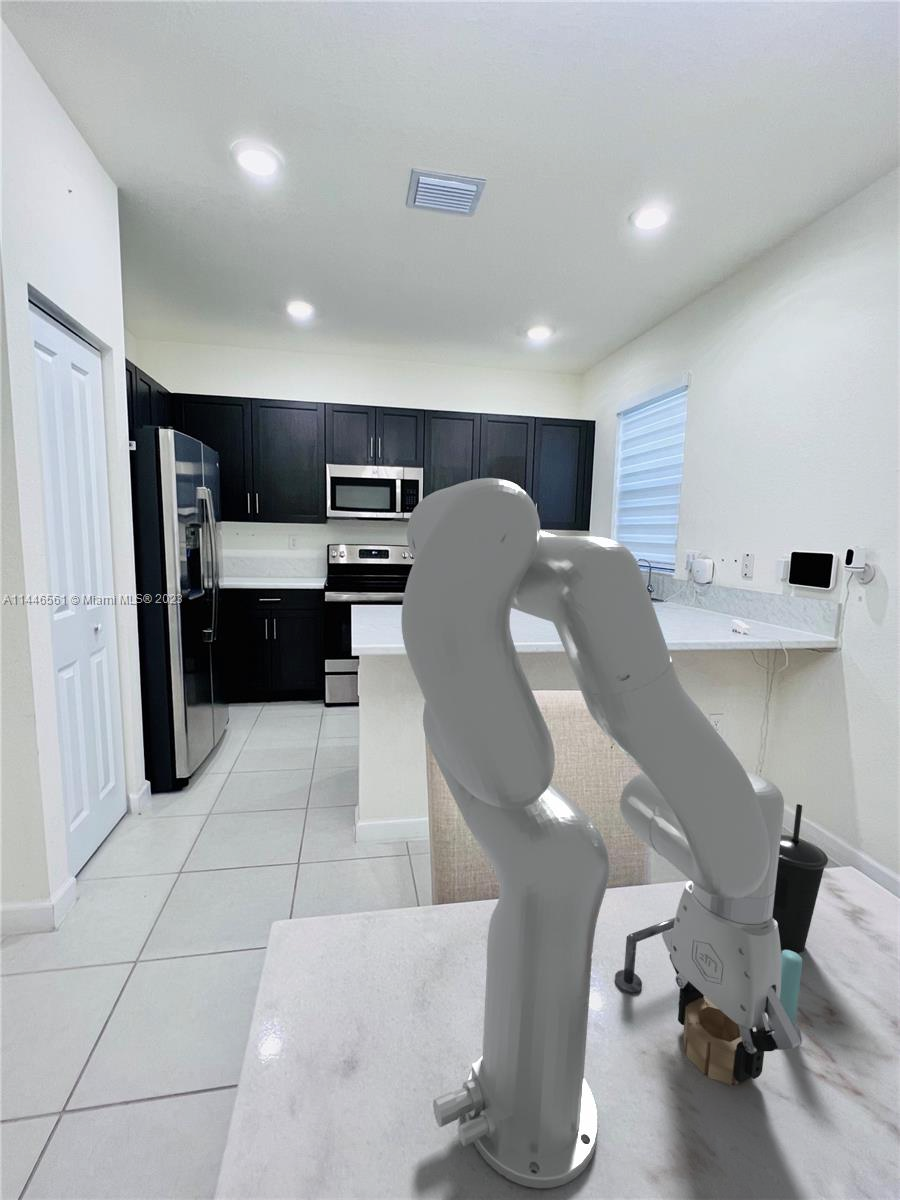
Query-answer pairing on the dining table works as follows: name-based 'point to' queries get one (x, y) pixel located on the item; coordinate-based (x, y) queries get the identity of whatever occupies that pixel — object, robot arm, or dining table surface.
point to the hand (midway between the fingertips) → (716, 1044)
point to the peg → (790, 986)
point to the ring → (711, 1040)
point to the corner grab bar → (627, 976)
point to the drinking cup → (796, 887)
